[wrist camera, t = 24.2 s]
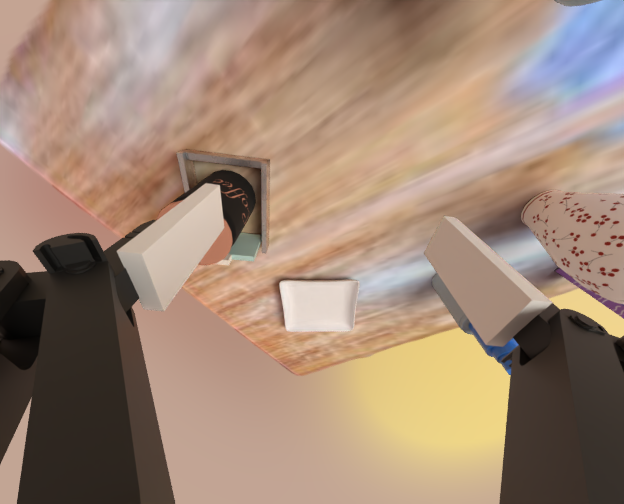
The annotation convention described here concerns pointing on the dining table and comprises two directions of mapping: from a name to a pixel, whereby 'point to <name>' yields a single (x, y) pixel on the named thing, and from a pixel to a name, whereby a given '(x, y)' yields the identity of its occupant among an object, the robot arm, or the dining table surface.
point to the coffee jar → (225, 211)
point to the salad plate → (319, 304)
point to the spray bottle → (468, 327)
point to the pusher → (243, 248)
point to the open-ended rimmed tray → (188, 169)
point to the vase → (582, 237)
